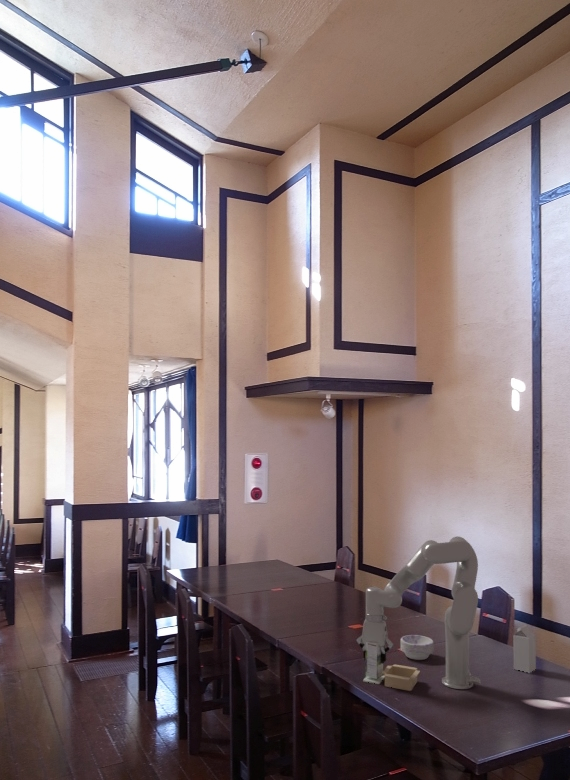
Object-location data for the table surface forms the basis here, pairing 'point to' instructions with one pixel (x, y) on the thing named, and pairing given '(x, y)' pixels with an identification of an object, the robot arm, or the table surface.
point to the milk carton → (524, 650)
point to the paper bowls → (417, 646)
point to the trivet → (373, 680)
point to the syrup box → (373, 660)
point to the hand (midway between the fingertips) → (374, 660)
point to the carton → (400, 677)
